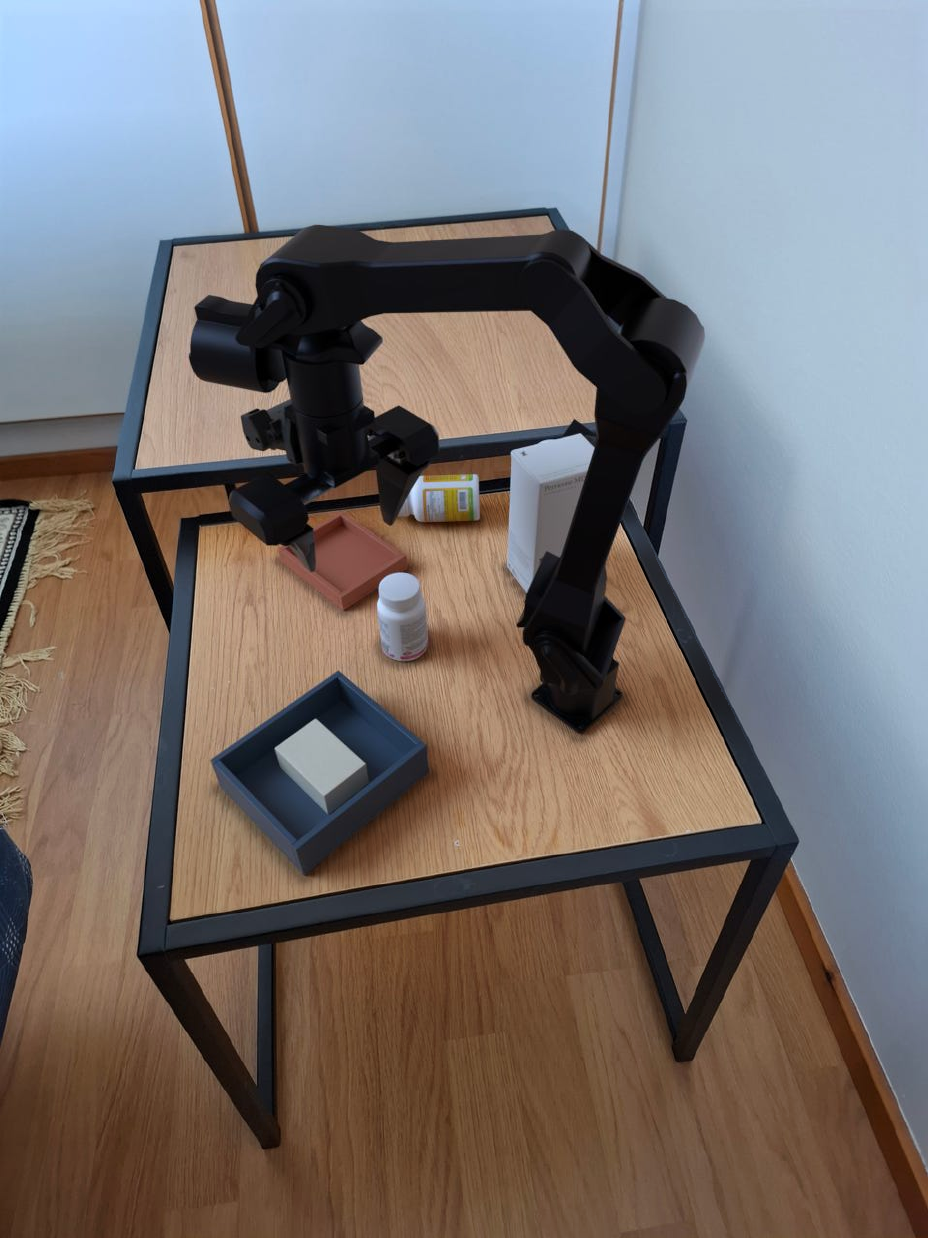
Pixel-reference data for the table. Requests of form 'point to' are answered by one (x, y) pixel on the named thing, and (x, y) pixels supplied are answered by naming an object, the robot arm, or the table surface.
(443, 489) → the supplement bottle
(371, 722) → the box
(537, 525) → the cosmetic box
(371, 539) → the tray
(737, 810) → the table surface
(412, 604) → the pill bottle
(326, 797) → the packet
